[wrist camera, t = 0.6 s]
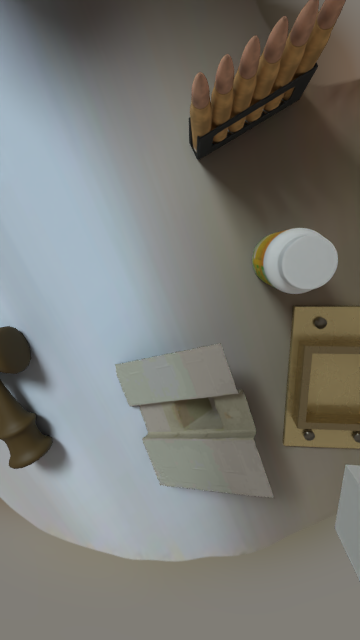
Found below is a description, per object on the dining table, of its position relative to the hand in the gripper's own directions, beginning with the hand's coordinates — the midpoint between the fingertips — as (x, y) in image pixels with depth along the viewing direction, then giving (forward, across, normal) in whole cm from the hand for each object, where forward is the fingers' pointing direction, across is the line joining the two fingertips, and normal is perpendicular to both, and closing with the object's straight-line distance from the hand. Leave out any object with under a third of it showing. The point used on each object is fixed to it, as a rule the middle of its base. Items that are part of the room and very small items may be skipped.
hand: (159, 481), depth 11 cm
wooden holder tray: (+23, +17, -6) cm, 29 cm away
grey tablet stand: (+23, 0, -10) cm, 25 cm away
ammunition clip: (+23, +5, +21) cm, 31 cm away
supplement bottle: (+23, +9, +8) cm, 26 cm away
